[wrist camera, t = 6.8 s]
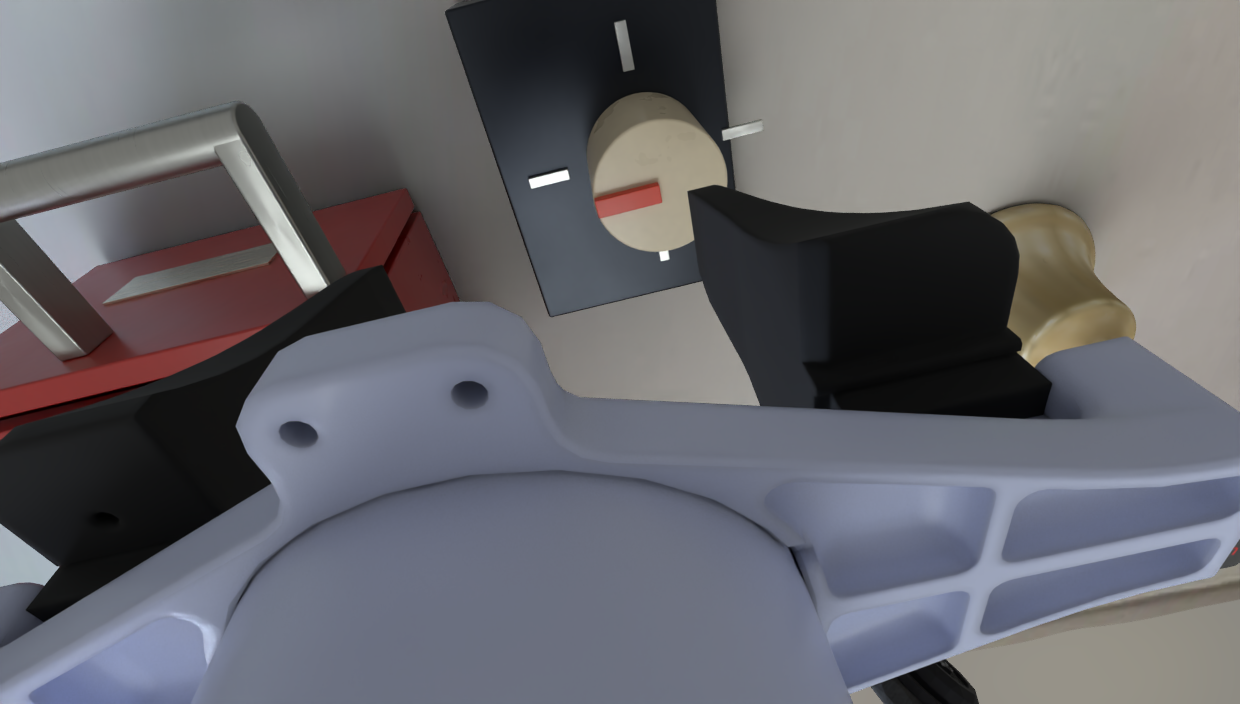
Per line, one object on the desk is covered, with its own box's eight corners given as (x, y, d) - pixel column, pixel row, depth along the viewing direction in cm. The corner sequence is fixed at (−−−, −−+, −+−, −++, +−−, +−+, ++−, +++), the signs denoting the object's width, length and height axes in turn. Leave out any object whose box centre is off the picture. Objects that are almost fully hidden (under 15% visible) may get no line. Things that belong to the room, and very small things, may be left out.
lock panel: (753, 239, 25) (773, 267, 23) (549, 288, 25) (549, 320, 23) (726, -69, 19) (749, -71, 16) (455, 4, 19) (442, 11, 17)
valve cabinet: (489, 367, 28) (464, 534, 20) (239, 426, 28) (119, 611, 20) (420, 210, 23) (351, 347, 15) (122, 285, 23) (-92, 454, 16)
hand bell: (876, 328, 28) (1151, 652, 15) (1002, 172, 24) (1521, 433, 11) (995, 376, 31) (1316, 688, 18) (1126, 242, 27) (1664, 520, 14)
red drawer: (415, 206, 22) (348, 334, 15) (111, 283, 23) (-96, 442, 16) (344, 48, 19) (216, 113, 12) (-8, 142, 20) (-339, 258, 12)
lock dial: (693, 77, 19) (722, 104, 16) (709, 194, 21) (737, 239, 18) (572, 109, 19) (577, 142, 16) (602, 221, 21) (610, 270, 18)
